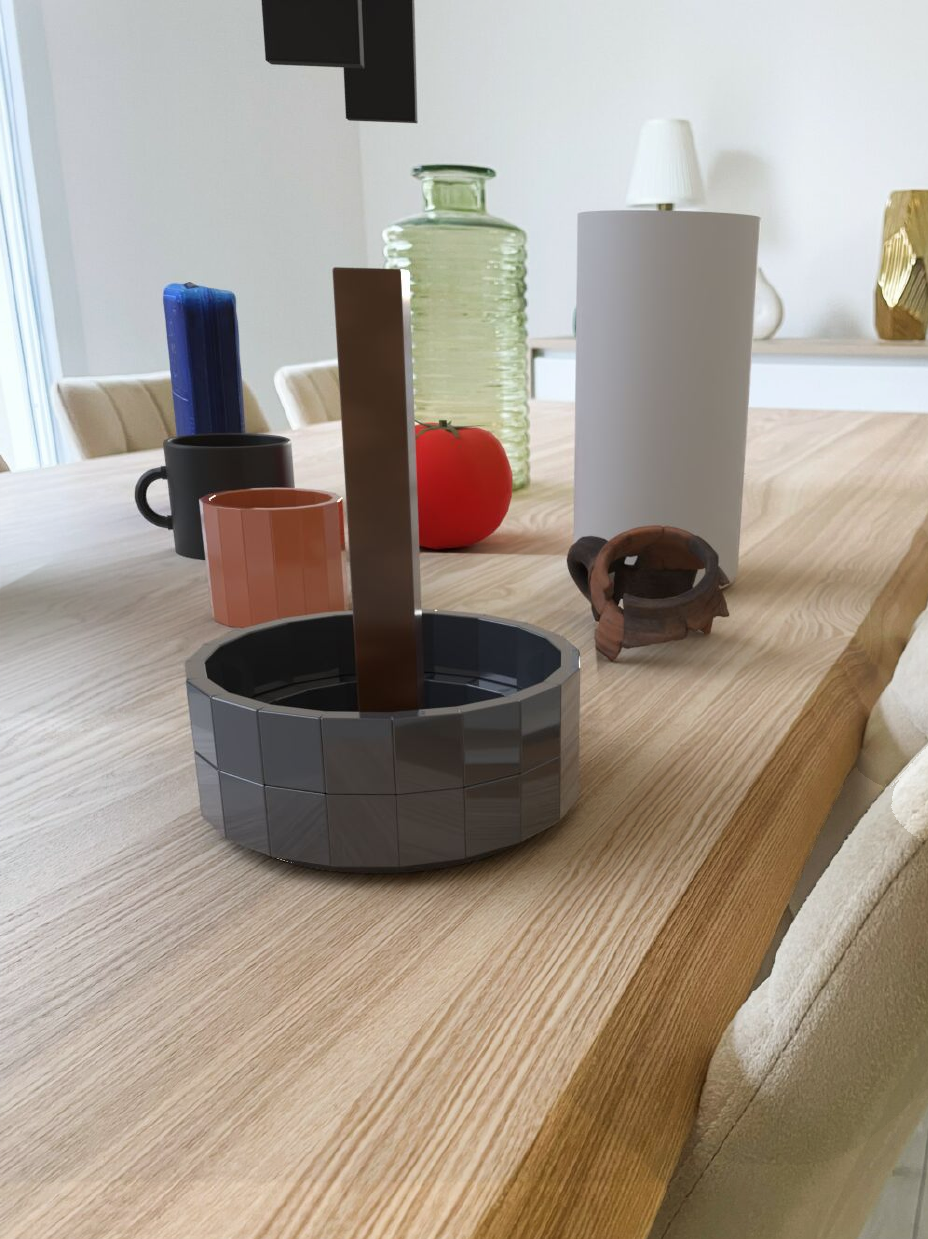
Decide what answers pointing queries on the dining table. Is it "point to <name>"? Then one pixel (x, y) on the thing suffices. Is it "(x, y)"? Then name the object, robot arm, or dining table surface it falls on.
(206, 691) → the bowl
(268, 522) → the pot
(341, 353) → the stick
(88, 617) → the dining table surface
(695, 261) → the cylinder vase
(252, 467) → the mug
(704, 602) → the pottery mug
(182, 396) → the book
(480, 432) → the tomato
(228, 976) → the dining table surface
